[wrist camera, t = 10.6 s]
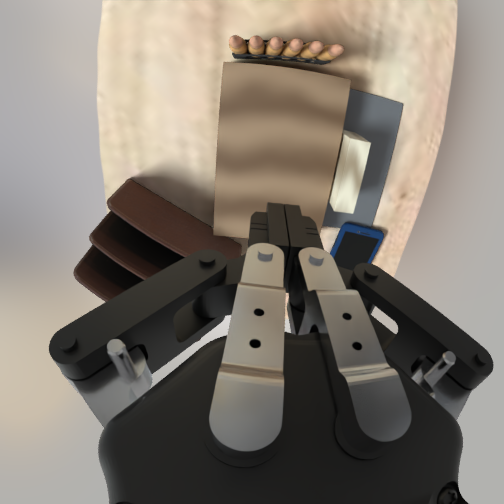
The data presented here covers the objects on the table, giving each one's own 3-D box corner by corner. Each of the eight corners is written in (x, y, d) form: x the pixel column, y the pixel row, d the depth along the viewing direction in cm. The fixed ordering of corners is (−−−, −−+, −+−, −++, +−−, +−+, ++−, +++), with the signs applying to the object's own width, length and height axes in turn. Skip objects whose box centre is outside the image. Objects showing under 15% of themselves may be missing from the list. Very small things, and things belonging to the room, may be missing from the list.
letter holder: (210, 284, 48) (196, 351, 37) (108, 226, 42) (66, 282, 30) (243, 244, 43) (236, 313, 32) (129, 176, 37) (80, 225, 26)
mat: (340, 86, 30) (340, 86, 29) (402, 103, 30) (403, 103, 30) (314, 224, 41) (314, 224, 41) (369, 230, 41) (369, 231, 41)
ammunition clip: (233, 58, 28) (221, 48, 18) (234, 44, 27) (222, 28, 17) (322, 64, 28) (352, 59, 18) (323, 51, 27) (353, 40, 17)
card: (350, 138, 28) (370, 142, 28) (336, 128, 33) (354, 132, 33) (334, 211, 33) (353, 213, 33) (324, 191, 38) (341, 193, 38)
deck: (227, 63, 28) (223, 61, 25) (341, 79, 29) (351, 79, 26) (217, 220, 41) (213, 235, 38) (312, 230, 41) (317, 245, 38)
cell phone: (312, 289, 48) (313, 292, 47) (343, 220, 40) (344, 223, 39) (350, 295, 49) (351, 298, 48) (384, 230, 41) (386, 233, 40)
